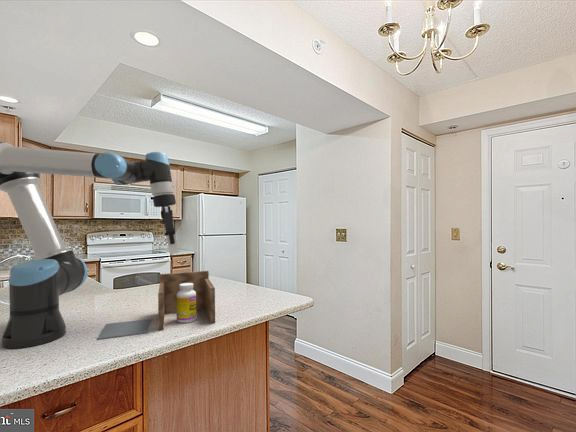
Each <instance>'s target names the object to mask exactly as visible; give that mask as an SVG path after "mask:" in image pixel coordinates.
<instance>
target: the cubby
mask: <svg viewBox="0 0 576 432" xmlns="http://www.w3.org/2000/svg"><path fill="white" fill-rule="evenodd" d="M209 275H210V273H209V270H201V271H188V272H187V271H186V272H173V273H172V272H171V273H160V274H159V286H158V287H159V288H158V293H157V299H158V300H157V305H158V306H157V308H158V312H157V313H158V318H157V319H158V320H157V321H158V331H164V329H165V315H168V314H169V315H170V314H177V293H178V292H179V291H180V288H179V286H180V284H182V283H193V290H194V291H195V292H196V311H202V310H203V311H204V310H205V313H206V315H207V317H208V320H209V322H210V324H211V325H212V324H216V288H215V285H213V283H212V282H211V280H210V279H209V278H210V276H209Z"/></svg>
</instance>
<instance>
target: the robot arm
mask: <svg viewBox="0 0 576 432" xmlns="http://www.w3.org/2000/svg"><path fill="white" fill-rule="evenodd" d="M170 166H171V164H170V162H169V159H168V154H167V153H166V152H164V151H152V152H148V153H146V154H145V158H144V159H143V160H137V161H131V160H128V159H126V158H124V157H122V156H121V155H119V154H116V153H113V152H103V153H93V152H84V151H83V152H81V151H67V150H58V149H57V150H56V149H46V148H45V149H44V148H34V147H33V148H32V147H23V146H14V145H13V144H11V143H9V142H5V141H3V142H2V141H0V191H2V192H4V193H7V195H8V197H9V199H10V201H11V204H12V207H13V209H14V210H15V213H16V215H17V218H18V220H19V221H20V224H21V226H22V229H23V230H24V233H25V235H26V238H27V239H28V241H29V243H30V246H31V248H32V251H33V252H34V255H35V257H36V258H35V259H34V260H31V261H30V260H29V261H24V262H21V263H18V264H15V265H14V266H12V267H11V268H10V270H9V278H8V284H9V289H8V291H9V318H8V321H7V323H6V326H5V327H4V330H3V331H4V332H3V334H2V336H1V347H3V348H6V349H21V348H22V349H24V348H28V347H29V348H30V347H35V346H39V345H43V344H46V343H49V342H53V341H56V340H57V339H60V338H62V337H63V336H65V335H66V333H67V332H66V331H67V326H66V323H65V320H64V318H63V316H62V313H61V311H60V297H59V296H62V295H64V294H67V293H70V292H72V291H75V290H77V288H79V287H81V286H82V285H83V284H84V283H85V281H86V279H87V277H88V273H89V271H88V267H87V264H86V263H85V261H84V260H83V259H81V258H78V257H76V254H75V253H74V250H73V249H71V248H68V247H66V245H65V242H64V240H63V238H62V236H61V234H60V231H59V229H58V227H57V225H56V223H55V221H54V218H53V217H52V216H53V215H52V214H51V212H50V209H49V207H48V205H47V203H46V200H45V199H44V196H43V194H42V191H41V190H40V187H39V185H40V184H41V182H42V179H41V174H43V175H47V174H48V175H58V176H70V177H73V176H74V177H89V178H99V179H110V180H111V181H112V182H113V183H114V184H115V185H117V186H124V185H125V186H127V185H129V184H136V183H138V184H139V183H143V182H149V186H150V191H151V196H153V197H152V202H153V207H154V208H161V211H160V216H161V220H162V222H163V223H164V228H165V232H164V236H165V237H166V242H167V247H168V252H169V254H170V255H173V254H178V253H179V249H178V243H177V237H176V230H175V227H174V216H173V215H174V214H173V212H174V211H173V209H171V206H174V205H176V204H177V202H176V200H177V199H176V196H175V194H174V193H175V189H174V188H175V184H173V180H172V179H173V178H172V173H171V167H170Z"/></svg>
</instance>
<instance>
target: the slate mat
mask: <svg viewBox="0 0 576 432" xmlns="http://www.w3.org/2000/svg"><path fill="white" fill-rule="evenodd" d="M151 319H152V318H145V319H144V318H143V319H135V320H127V321H119V322H110V323H105V325H104V326H103V328H102V329H101V332H100V333H99V334H98V336H97V338H96V340H97V341H98V340H99V341H100V340H101V341H102V340H107V339H114V338H122V337H123V338H124V337H129V336H136V335H144V334H149V330H150V326H151Z"/></svg>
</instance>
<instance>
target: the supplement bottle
mask: <svg viewBox="0 0 576 432" xmlns="http://www.w3.org/2000/svg"><path fill="white" fill-rule="evenodd" d="M179 288H180V291H179V292H178V293H177V313H176V321H177V322H178V323H180V324H187V323H192V322H194V321H196V320H197V310H196V292H195V291H194V290H193V283H182V284H180V286H179Z"/></svg>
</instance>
